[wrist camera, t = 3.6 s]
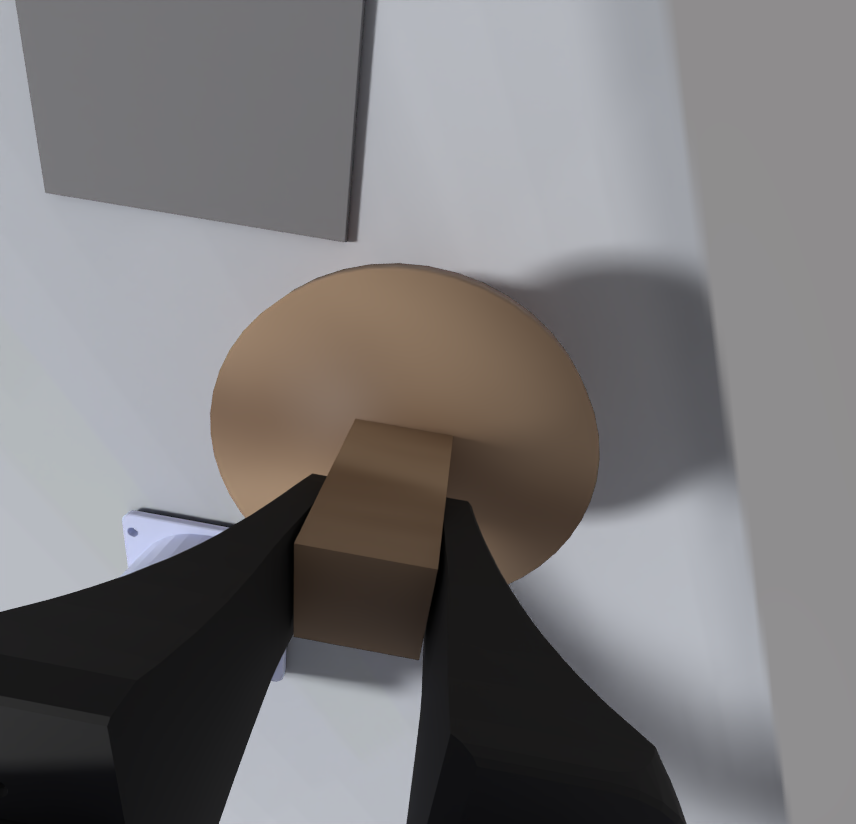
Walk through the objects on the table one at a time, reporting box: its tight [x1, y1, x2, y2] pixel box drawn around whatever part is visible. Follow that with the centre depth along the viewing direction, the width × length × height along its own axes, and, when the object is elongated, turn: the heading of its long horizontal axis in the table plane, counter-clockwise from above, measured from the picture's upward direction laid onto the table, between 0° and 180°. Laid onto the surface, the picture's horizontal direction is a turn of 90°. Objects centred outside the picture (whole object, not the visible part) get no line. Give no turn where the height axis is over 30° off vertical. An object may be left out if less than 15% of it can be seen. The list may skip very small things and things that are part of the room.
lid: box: [210, 263, 599, 660], centre depth 11 cm, size 11×11×5 cm
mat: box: [15, 0, 365, 242], centre depth 15 cm, size 11×11×1 cm
